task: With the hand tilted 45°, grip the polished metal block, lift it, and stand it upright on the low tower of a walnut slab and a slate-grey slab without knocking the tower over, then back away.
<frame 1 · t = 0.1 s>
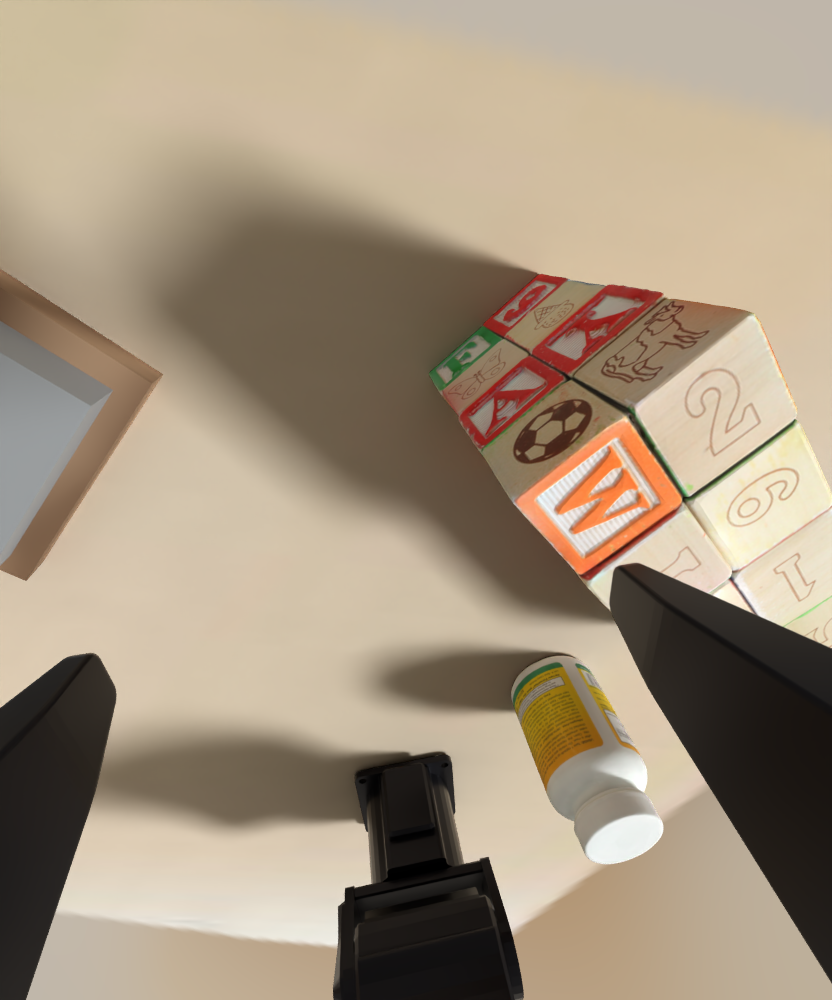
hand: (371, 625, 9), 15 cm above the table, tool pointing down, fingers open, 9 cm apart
supplement bottle: (547, 681, 32), on the table
stack of blocks: (597, 482, 26), on the table
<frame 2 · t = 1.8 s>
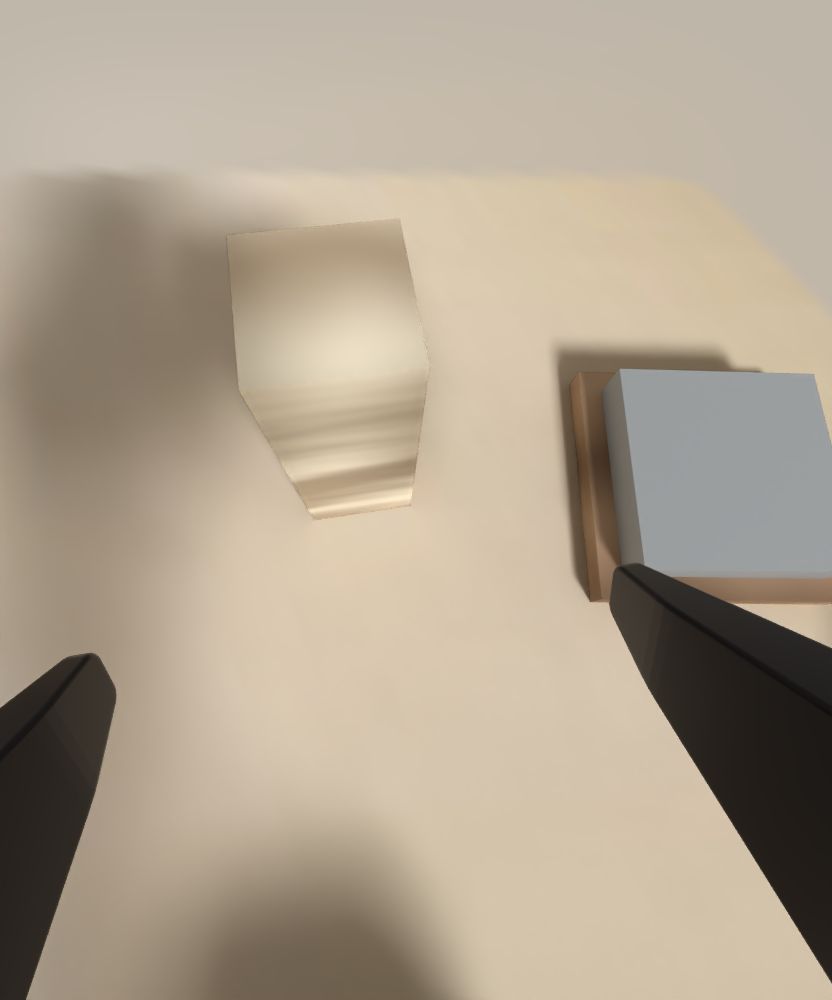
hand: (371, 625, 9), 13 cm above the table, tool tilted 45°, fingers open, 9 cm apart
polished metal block: (356, 467, 24), on the table
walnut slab: (682, 493, 25), on the table, touching slate slab
slate slab: (707, 480, 23), point 1 cm above the table, touching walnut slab
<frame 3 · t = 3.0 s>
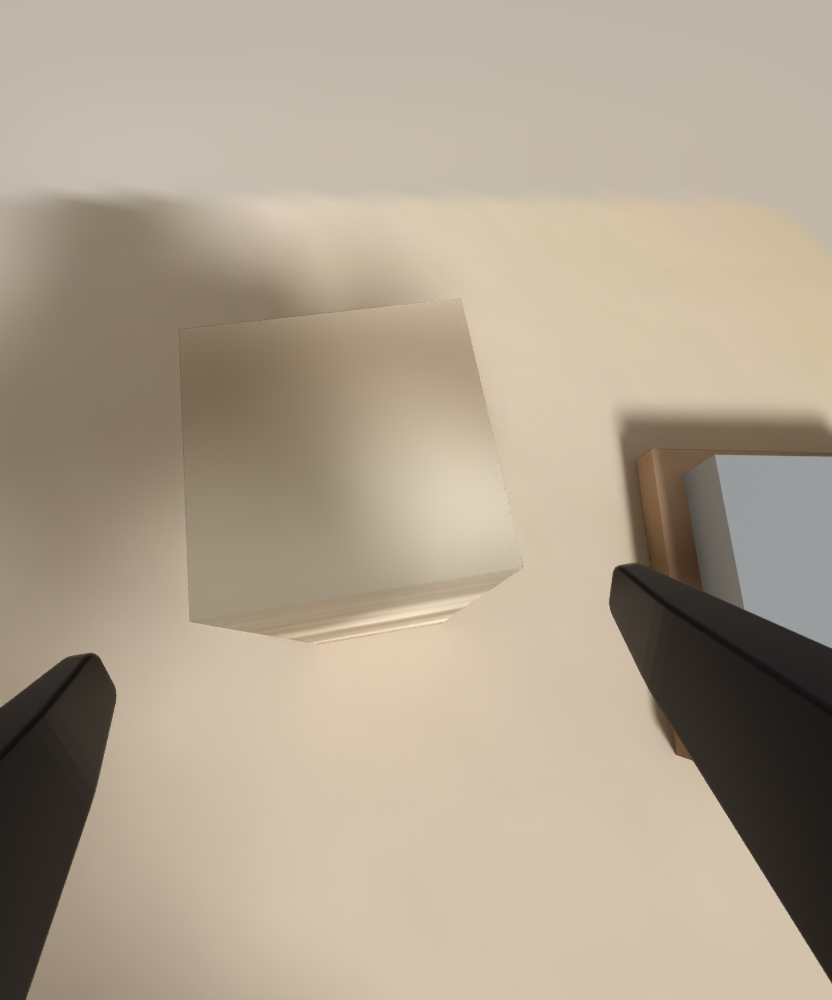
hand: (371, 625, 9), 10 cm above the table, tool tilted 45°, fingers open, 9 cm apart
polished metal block: (371, 572, 19), on the table
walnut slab: (779, 598, 20), on the table, touching slate slab
slate slab: (824, 593, 18), point 1 cm above the table, touching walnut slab
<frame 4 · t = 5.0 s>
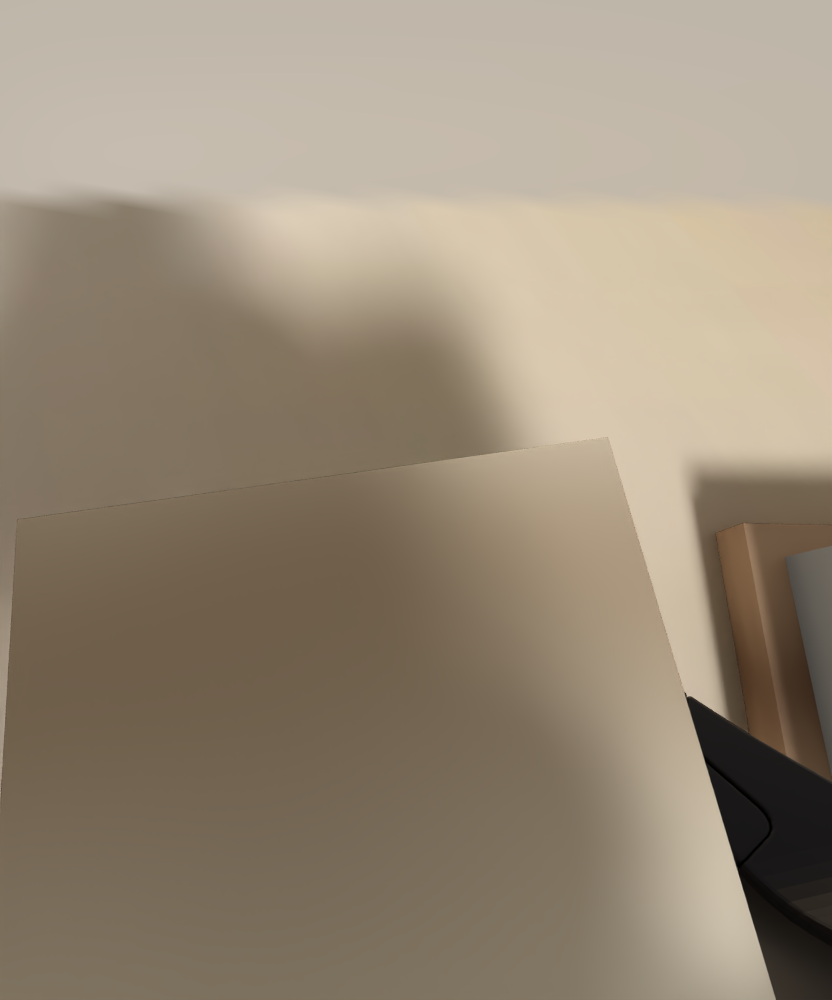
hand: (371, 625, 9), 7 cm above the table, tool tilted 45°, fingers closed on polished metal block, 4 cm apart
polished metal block: (385, 685, 15), on the table, touching gripper
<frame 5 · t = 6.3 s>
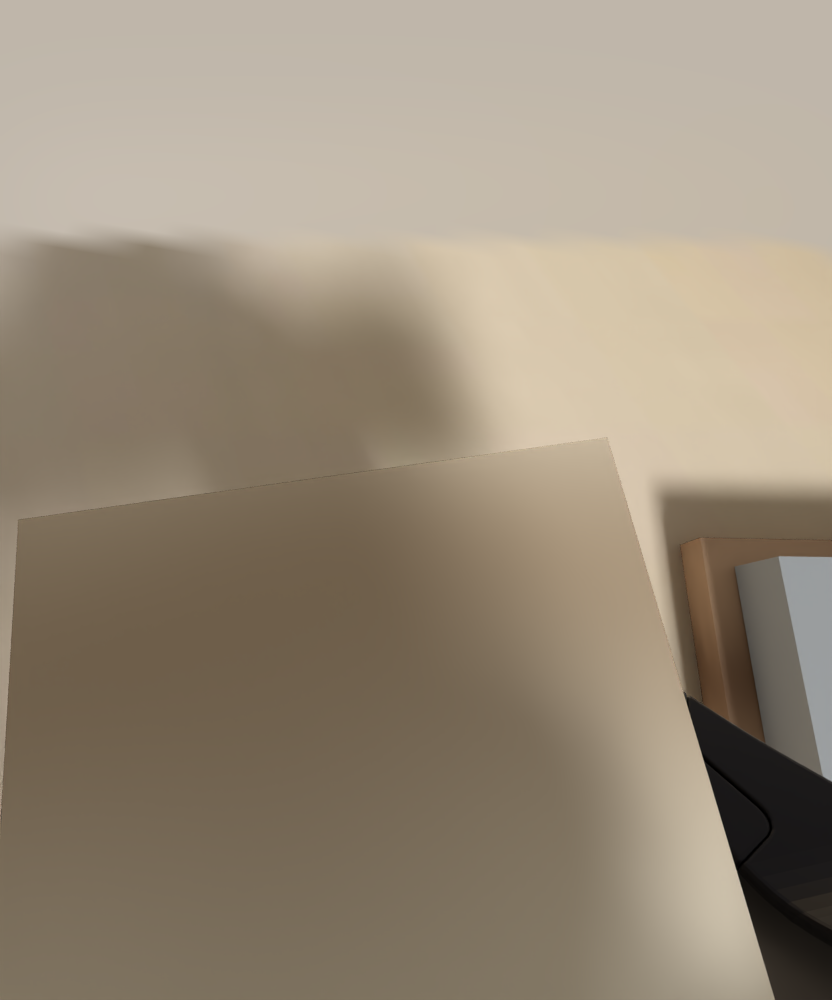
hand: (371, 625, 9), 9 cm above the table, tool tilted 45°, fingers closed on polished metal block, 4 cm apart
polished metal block: (385, 685, 15), point 2 cm above the table, touching gripper
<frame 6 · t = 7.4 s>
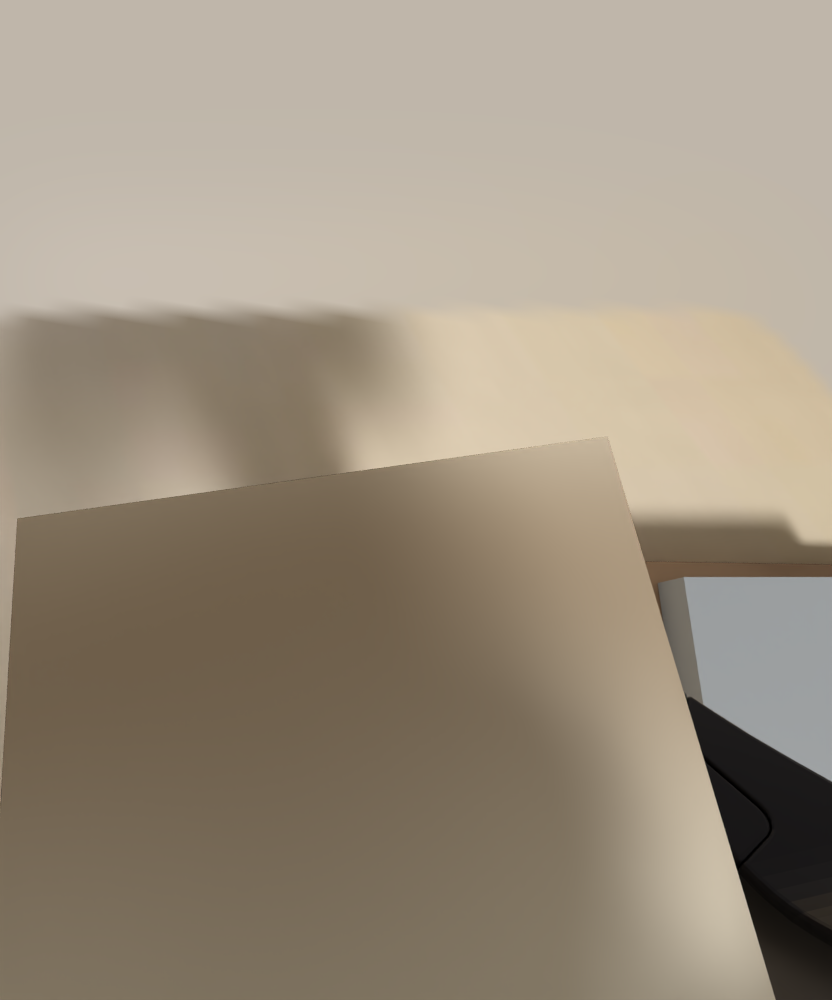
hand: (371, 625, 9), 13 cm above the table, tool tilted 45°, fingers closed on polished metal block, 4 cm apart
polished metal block: (385, 684, 15), point 7 cm above the table, touching gripper
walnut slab: (748, 691, 23), on the table, touching slate slab
slate slab: (779, 692, 21), point 1 cm above the table, touching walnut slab
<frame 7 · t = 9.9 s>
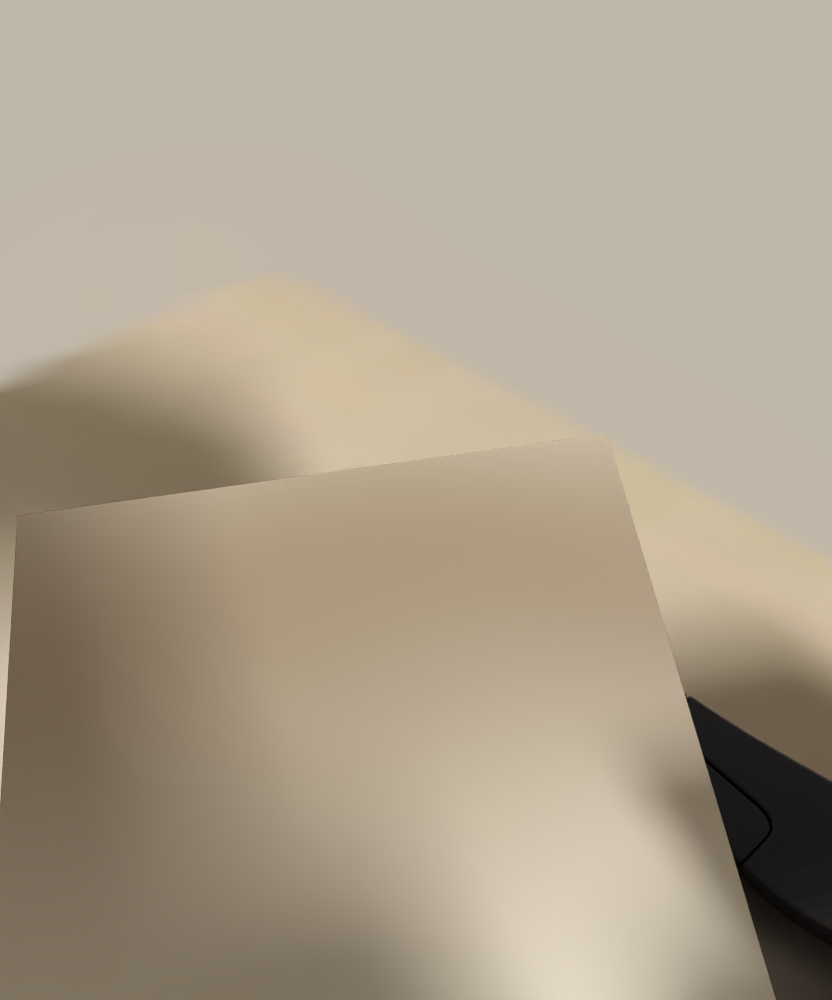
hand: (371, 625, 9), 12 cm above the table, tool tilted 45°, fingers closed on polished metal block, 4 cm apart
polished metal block: (385, 684, 15), point 5 cm above the table, touching gripper
when the fingers open (12 cm above the table, at t = 10.6 s): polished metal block drops 2 cm, resting on slate slab.
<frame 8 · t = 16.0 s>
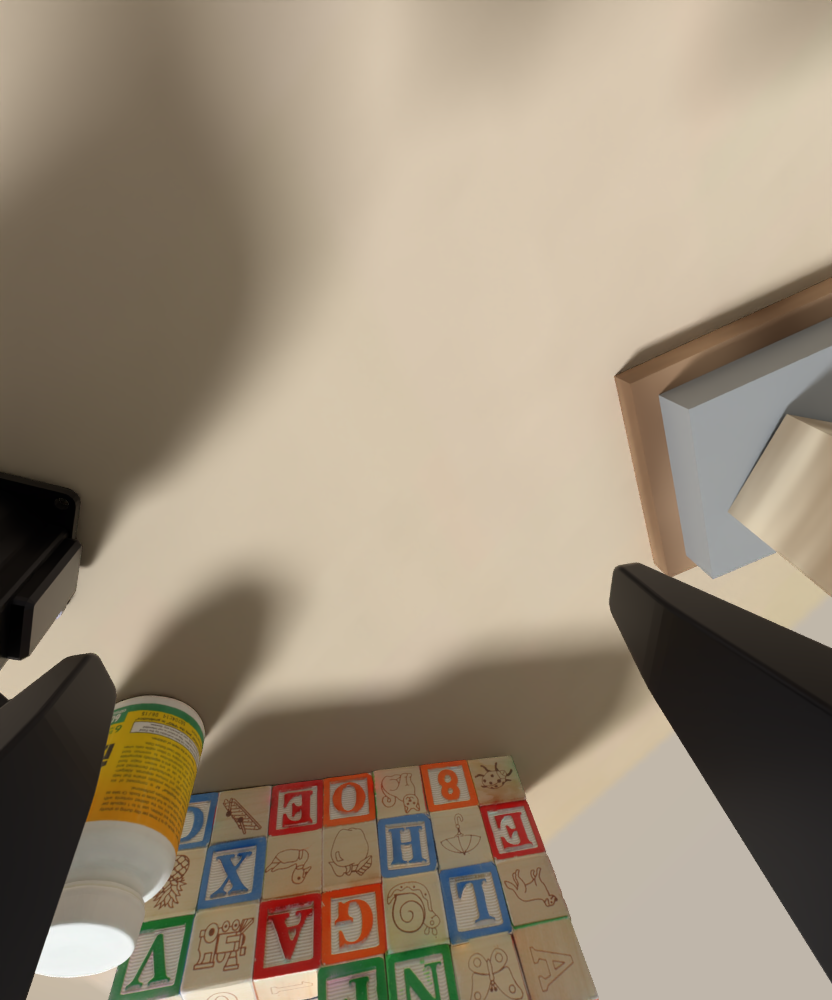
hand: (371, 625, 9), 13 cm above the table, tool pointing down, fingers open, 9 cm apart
supplement bottle: (155, 723, 27), on the table
stack of blocks: (349, 799, 33), on the table
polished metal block: (800, 472, 21), point 3 cm above the table, touching slate slab
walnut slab: (734, 427, 24), on the table, touching slate slab
slate slab: (767, 441, 23), point 1 cm above the table, touching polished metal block, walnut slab
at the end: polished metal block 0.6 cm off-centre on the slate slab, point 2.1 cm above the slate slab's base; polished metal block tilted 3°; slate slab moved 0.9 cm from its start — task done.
